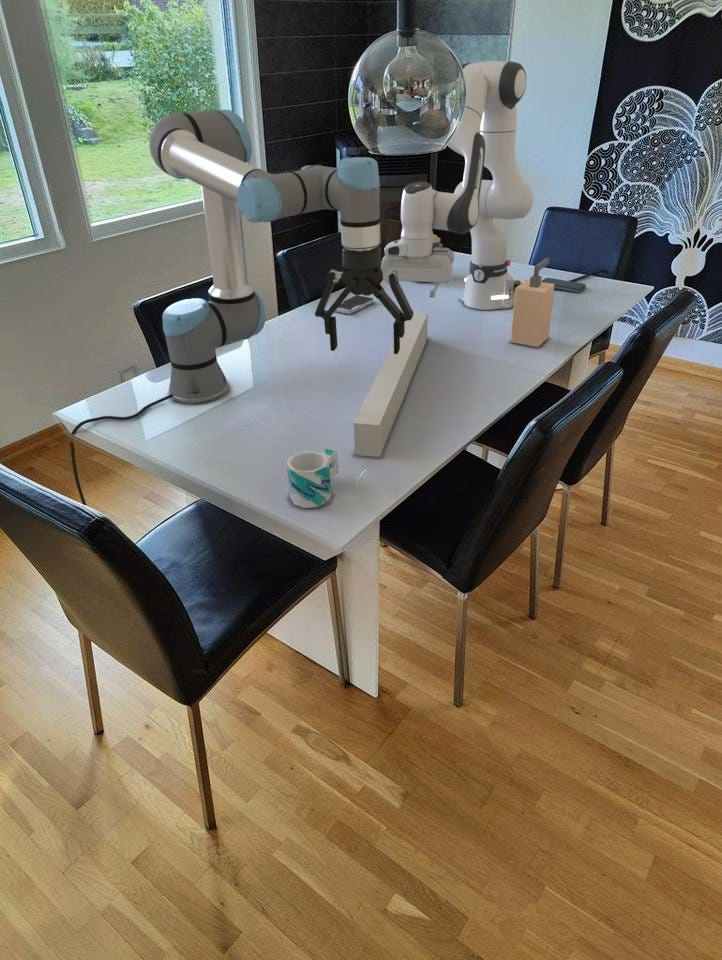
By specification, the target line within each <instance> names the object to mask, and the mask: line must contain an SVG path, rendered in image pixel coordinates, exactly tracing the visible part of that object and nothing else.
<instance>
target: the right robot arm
mask: <svg viewBox="0 0 722 960" xmlns="http://www.w3.org/2000/svg"><path fill="white" fill-rule="evenodd" d="M460 65H461V66H462V69H463V72H464V75H465V80H466V88H467V100H466V107H465V111H464V115H463V118H462V121H461V124H460V126H459V128H458V130H457V132H456V133H455V135H454V137H453V138H452V139H451V141H450V142H449V144H448V145H446V146H447V147H448V148H449V149H451V150H452V151H454V152H455V153H457V154H459V155H461V156H462V157H464V162H465V163H464V170H463V177H462V181H461V182H459V184H458V185H457V186H456V187H455V189H454V192H453V193H452V192H443V191H438V190H435V189H433V187H432V184H430V182H427V181H416V182H415V181H414V182H412V183H409V184H407V185H405V187H404V188H403V191H402V195H401V203H400V222H401V233H400V239H397V240H393V241H390V242H389V243H387V244H386V245H385V247H384V256H383V258H382V259H381V270H382V272H383V273H391V272H392V271H396V272H397V275H398V282H399V283H400V282H414V283H415V282H416V283H417V282H418V283H433V286H434V288H433V289H430V290H429V298H436V294H437V293H436V291H437V290H438V288H439V286H440V285H441V284H440V283H444V284H445V283H450V282H451V281H452V279H453V263H454V261H455V252H454V251H453V250H452V249H450V248H449V247H442V248H439V247H433V234H434V232H433V229H435V230H440V231H447V232H450V233H455V234H459V235H465V234H466V233H468V232H470V233H469V234H470V237H471V260H470V262H469V266H468V267H469V268H468V269H469V274H468V275H467V276H466V278H465V277H464V279H463V280H464V282H465V283H464V290H463V291H464V292H463V295H461V296H460V301H462V302H463V305H465V307H468V308H469V309H470V308H471V309H474V310H480V311H482V310H483V311H494V310H502V309H504V310H507V309H511V308H512V307H514V298H515V288H516V287H518V286H519V285H520V284H522V283H523V282H521V280H515V279H514V277H512V275H510V274H509V272H508V267H510V266H511V262H512V261H511V259H506V258H507V257H506V255H507V243H508V241H507V236H506V235H505V233H504V232H503V231H502V230H500V229H499V228H498V227H496V225H495V223H494V221H493V219H496V220H497V219H499V220H508V221H509V220H510V221H511V220H517V219H518V220H519V219H523V218H525V217H526V216H527V215H528V214H529V213H530V211H531V210H532V208H533V205H534V193H533V190H532V188H531V187H530V185H528V183H527V182H526V181H525V180H524V179H523V178H522V176H521V174H520V172H519V170H518V166H517V163H516V162H517V161H516V134H517V120H518V119H517V117H518V116H517V114H518V112H517V104H518V103H520V101H521V99H522V98H523V96H524V94H525V91H526V88H527V73H526V70H525V68H524V66H523V65H522V64H521V63H520V62H516V61H513V60H510V61H503V60H502V61H500V60H487V61H480V62H473V63H470V62H466V63H462V64H460ZM484 168H486V169H487V170H488V171H489V172H490V173H491V176H492V180H490V179H483V174H484V173H483V172H484ZM601 273H605V274H609V271H608V270H607V269H604V268H603V269H597V270H596V271H593V272H589V273H586V274H584V275H581V276H579V277H576V278H573V279H570V280H568V281H571V282H577V281H580V280H582V279H585V278H588V277H591V276H595V275H597V274H601ZM384 282H386V280H384ZM402 290H403V291H404V288H402Z"/></svg>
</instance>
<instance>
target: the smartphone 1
mask: <svg viewBox="0 0 722 960" xmlns="http://www.w3.org/2000/svg"><path fill="white" fill-rule="evenodd" d="M373 303H374V298H373V297H370V296H369V297H368V296H365V295H353V296H352V297H350V298H348V299H344V300H343V302H342V303H341V304H340V305H339V307H338V308H337V309H336V310H335V312H336V313H342V314H348V315H351V314H353V313H355V312H357V311H359V310H362V309H364V307H367V306H369V305H372V304H373Z"/></svg>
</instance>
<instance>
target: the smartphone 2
mask: <svg viewBox="0 0 722 960" xmlns="http://www.w3.org/2000/svg"><path fill="white" fill-rule="evenodd" d="M541 282H544V283H551V284H555V285H554V290H555V289H556V290H561V291H566V292H573V293H581V292H582V291H583V290H584V289H586V287H587V284H586V283H583V282H577V281H575V282H571V281H569V280H564V279H560V278H554V277H545V278H543V280H542V279H541Z"/></svg>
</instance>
